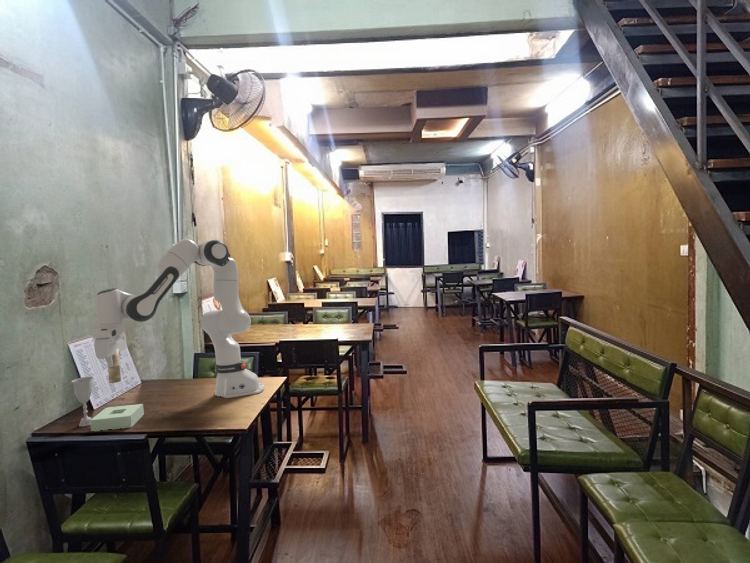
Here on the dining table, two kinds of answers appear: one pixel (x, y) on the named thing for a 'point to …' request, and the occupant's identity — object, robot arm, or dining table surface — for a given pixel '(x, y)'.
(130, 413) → the socket block
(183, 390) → the dining table surface
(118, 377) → the peg
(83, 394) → the chalice
